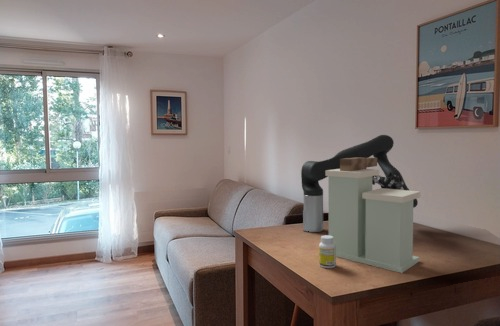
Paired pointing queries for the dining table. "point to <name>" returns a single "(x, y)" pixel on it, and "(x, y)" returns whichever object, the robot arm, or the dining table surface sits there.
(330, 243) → the supplement bottle
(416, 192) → the step stand
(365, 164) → the walnut leg
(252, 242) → the dining table surface
